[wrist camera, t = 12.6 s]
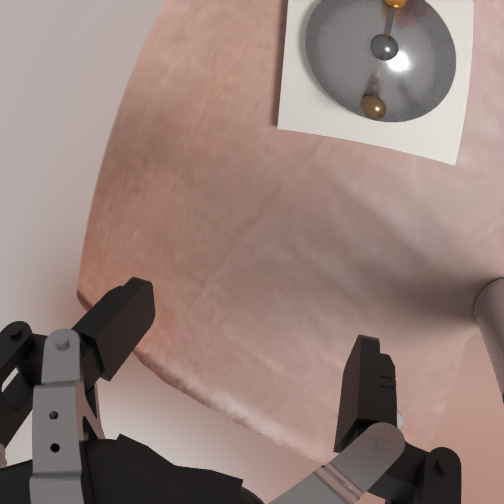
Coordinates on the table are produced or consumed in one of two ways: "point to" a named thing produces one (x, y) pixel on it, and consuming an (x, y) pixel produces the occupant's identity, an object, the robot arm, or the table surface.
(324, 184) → the table surface
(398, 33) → the grey round piece
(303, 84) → the stand
